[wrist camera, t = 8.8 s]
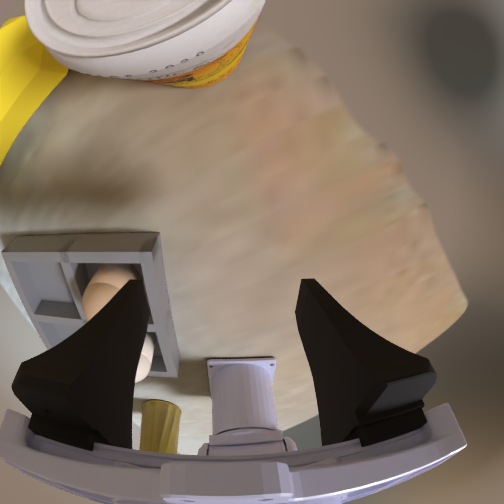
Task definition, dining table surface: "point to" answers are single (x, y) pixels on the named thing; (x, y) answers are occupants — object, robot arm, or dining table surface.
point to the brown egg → (106, 285)
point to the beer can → (146, 37)
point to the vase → (159, 427)
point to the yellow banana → (23, 78)
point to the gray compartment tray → (78, 277)
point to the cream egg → (146, 357)
